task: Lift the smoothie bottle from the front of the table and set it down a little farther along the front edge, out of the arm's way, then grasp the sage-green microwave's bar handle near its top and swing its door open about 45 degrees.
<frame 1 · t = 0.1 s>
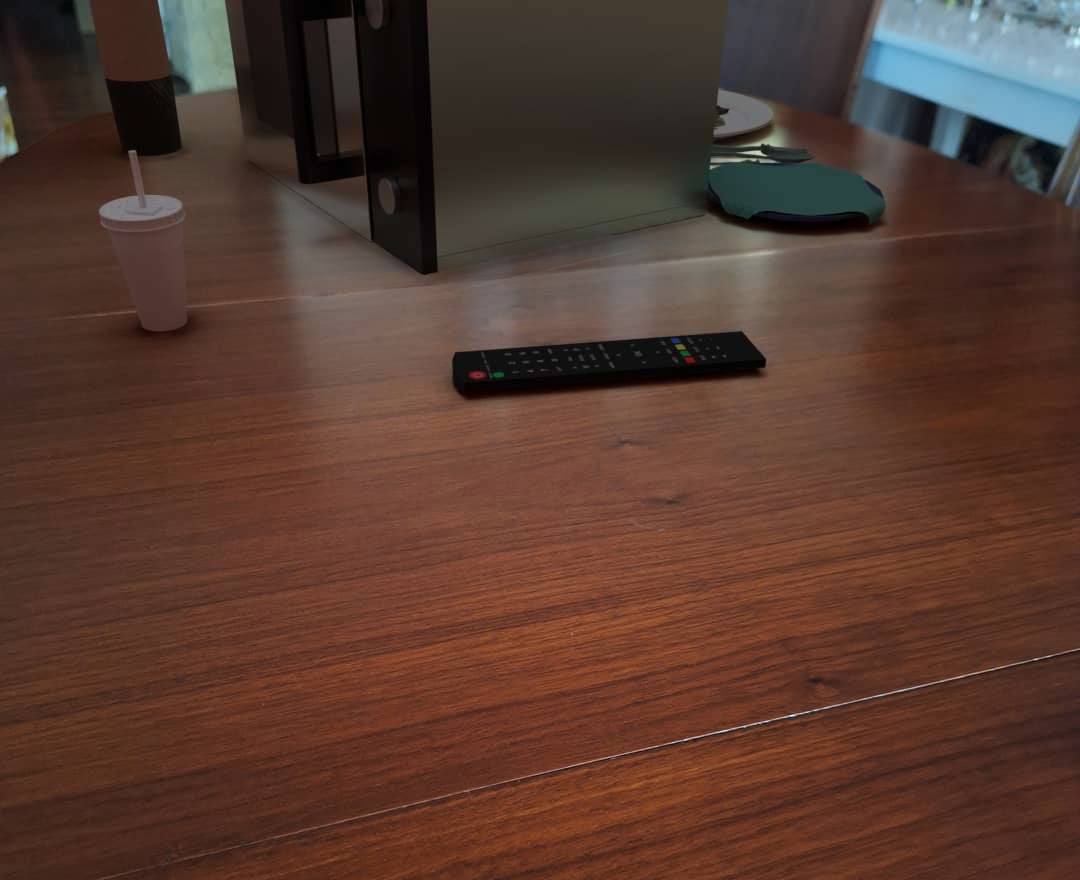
microwave: (470, 185, 119), on the table
travel mug: (152, 150, 129), on the table
microwave door: (269, 63, 105), point 14 cm above the table, hinge at 0.0°
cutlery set: (778, 193, 120), on the table
remote control: (606, 374, 81), on the table
smoothie: (165, 324, 87), on the table
plated food: (663, 123, 145), on the table
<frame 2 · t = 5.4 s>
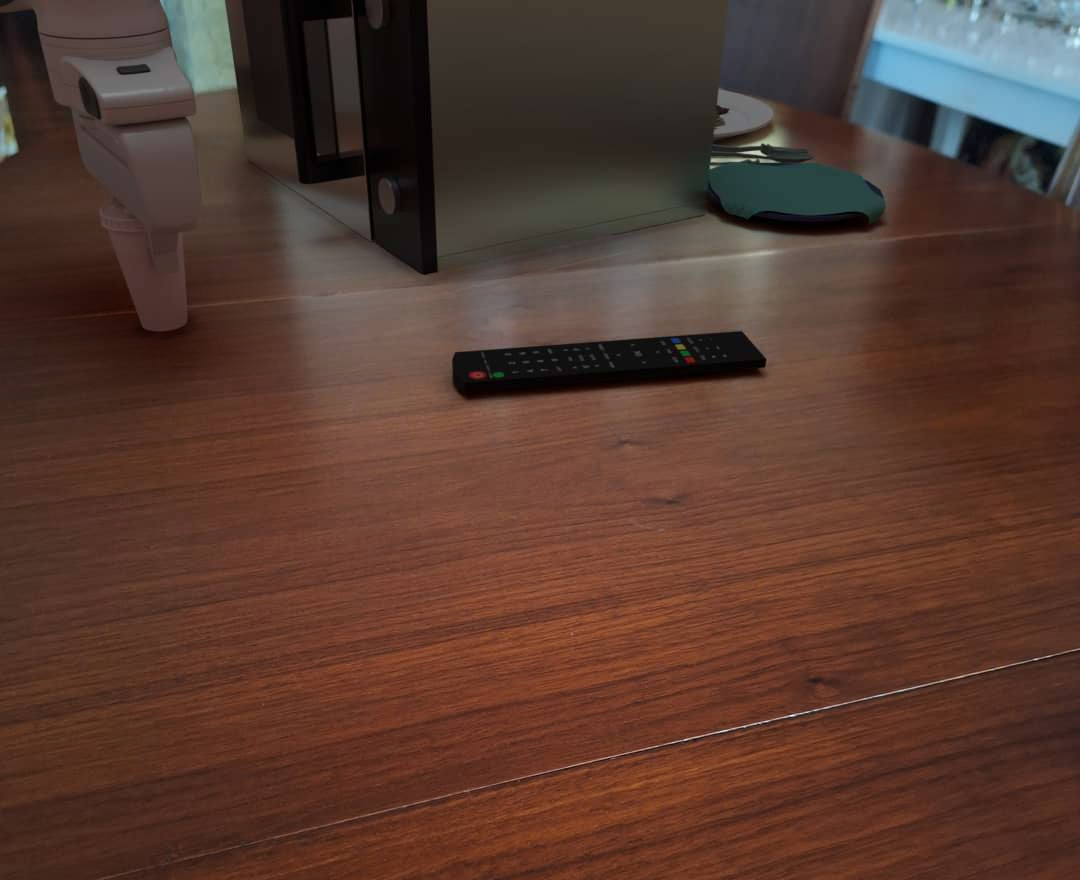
hand: (151, 256, 84), 6 cm above the table, tool pointing down, fingers closed on smoothie, 6 cm apart
smoothie: (165, 324, 87), on the table, touching gripper
everything else where it was.
when the fingers open (6 cm above the table, at t = 12.7 s): smoothie stays where it is, on the table.
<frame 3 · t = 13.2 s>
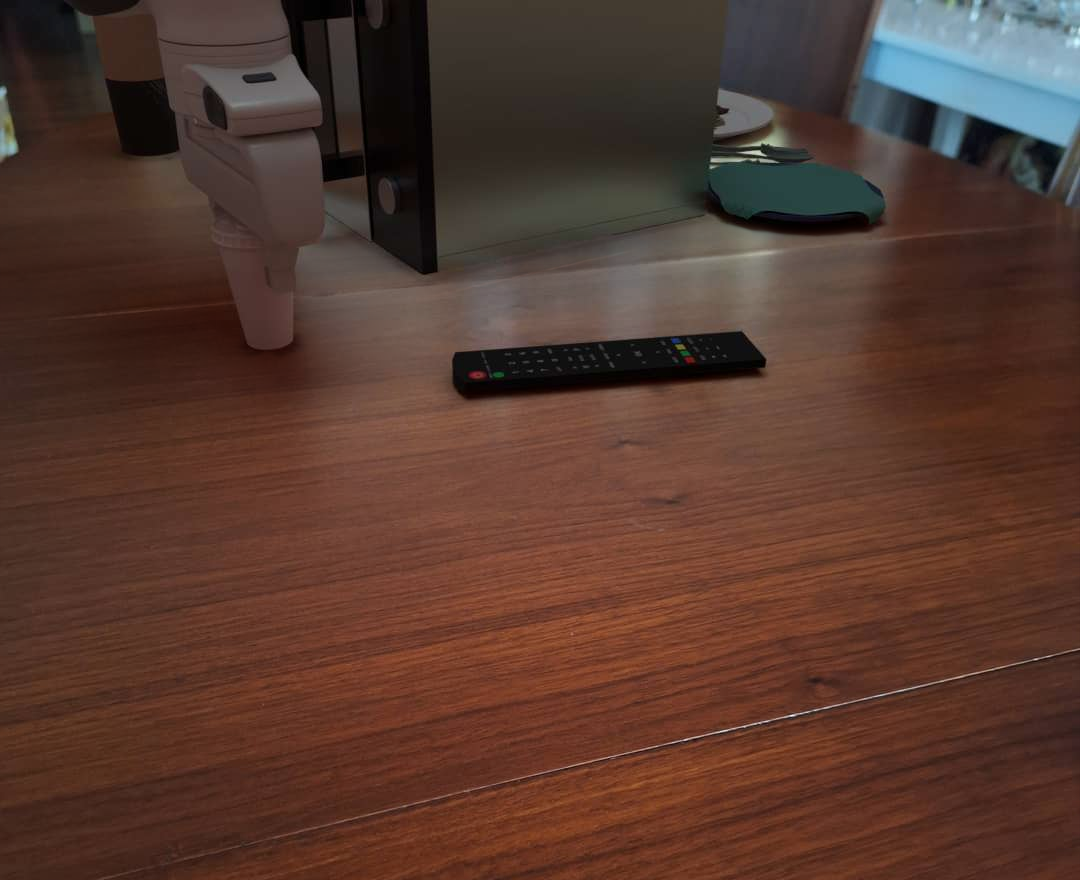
hand: (258, 270, 81), 6 cm above the table, tool pointing down, fingers open, 8 cm apart
smoothie: (270, 342, 84), on the table
everything else where it was.
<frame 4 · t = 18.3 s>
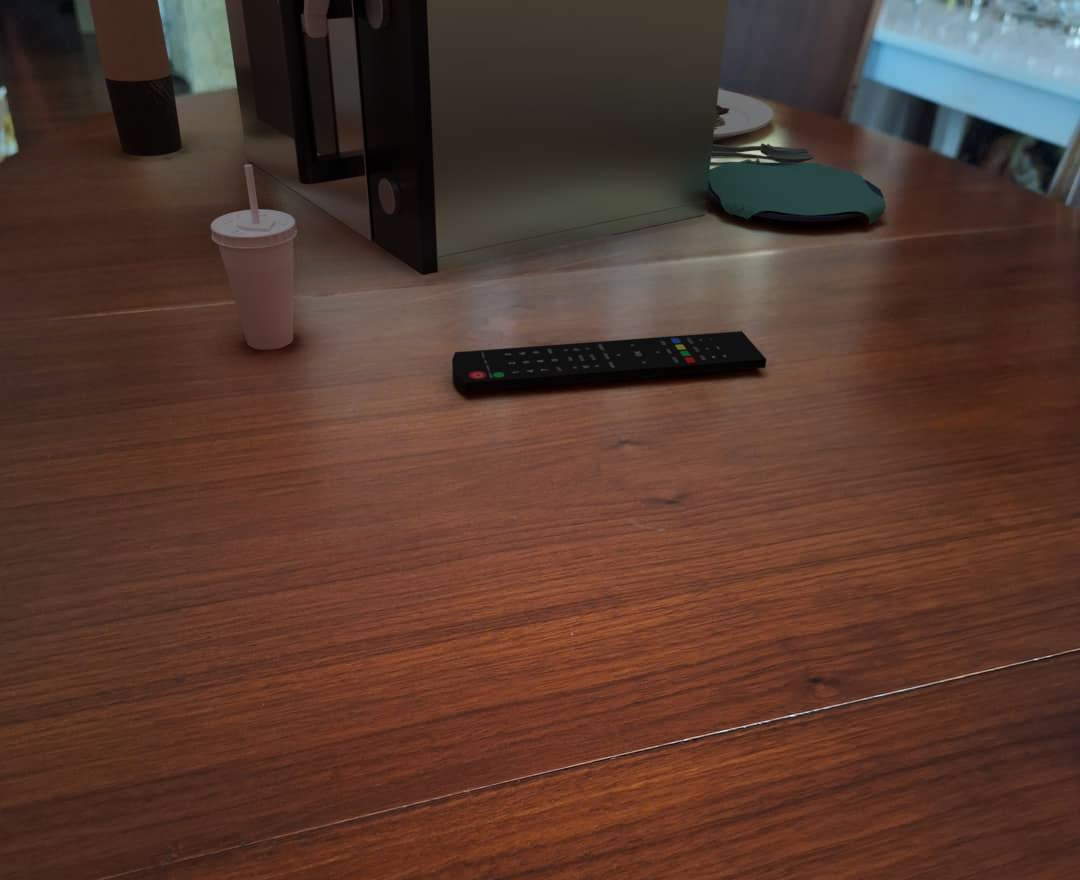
hand: (304, 32, 92), 19 cm above the table, tool pointing down, fingers open, 3 cm apart
microwave door: (269, 63, 105), point 14 cm above the table, hinge at 0.0°, touching gripper
everything else where it was.
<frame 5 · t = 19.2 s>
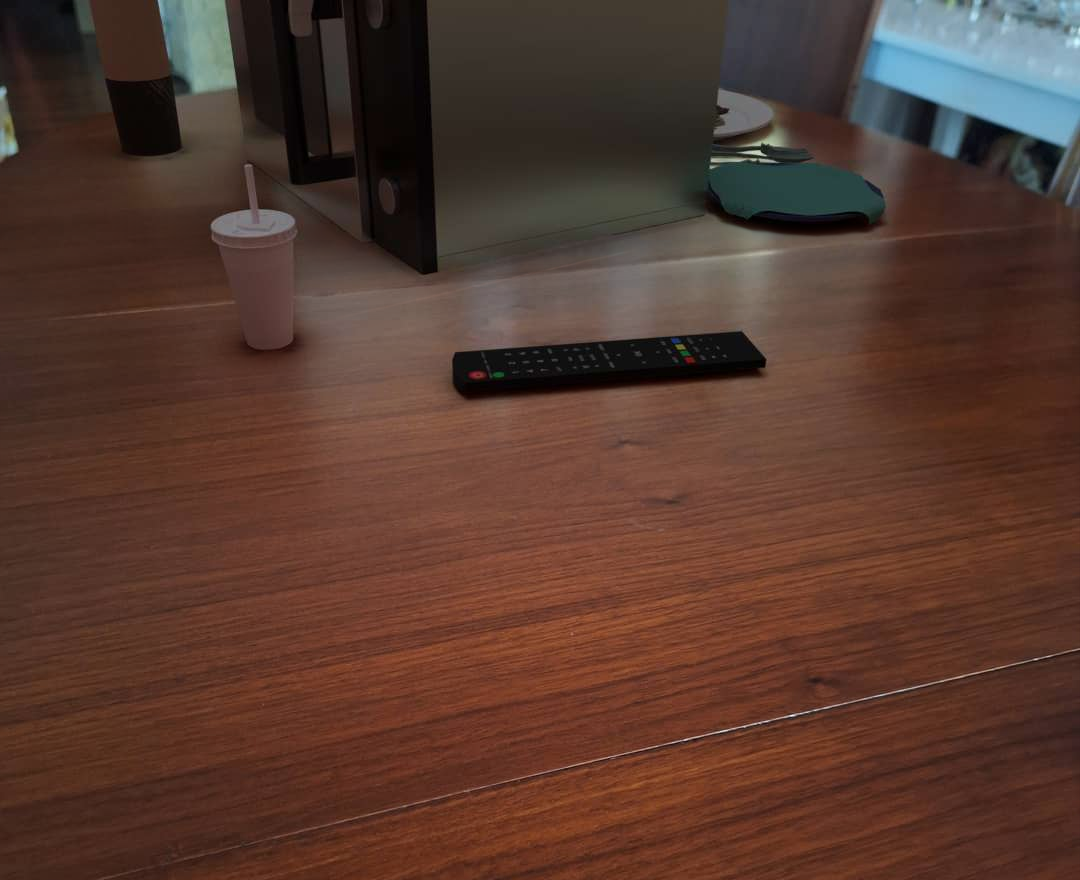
hand: (292, 31, 92), 19 cm above the table, tool pointing down, fingers closed on microwave door, 2 cm apart
microwave door: (264, 63, 105), point 14 cm above the table, hinge at 1.6°, touching gripper
everything else where it was.
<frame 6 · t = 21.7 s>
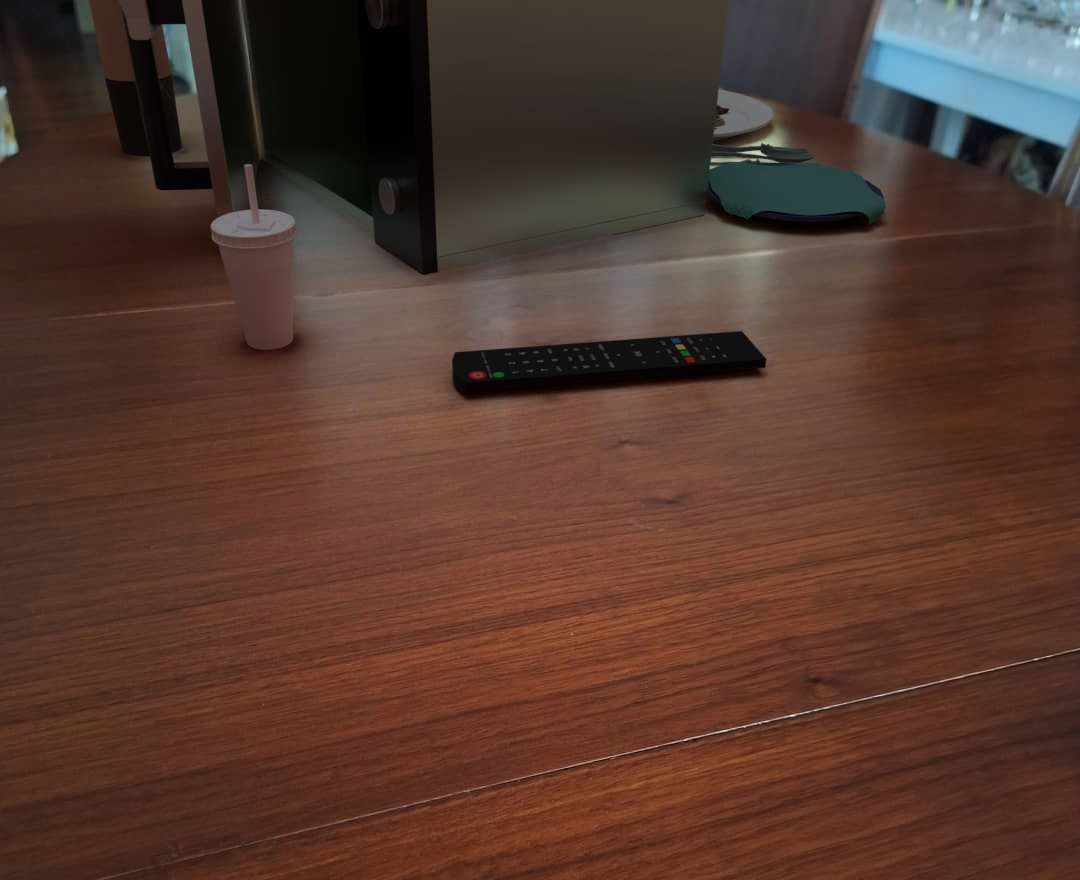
hand: (146, 35, 90), 19 cm above the table, tool pointing down, fingers closed on microwave door, 2 cm apart
microwave door: (195, 64, 104), point 14 cm above the table, hinge at 24.4°, touching gripper
everything else where it was.
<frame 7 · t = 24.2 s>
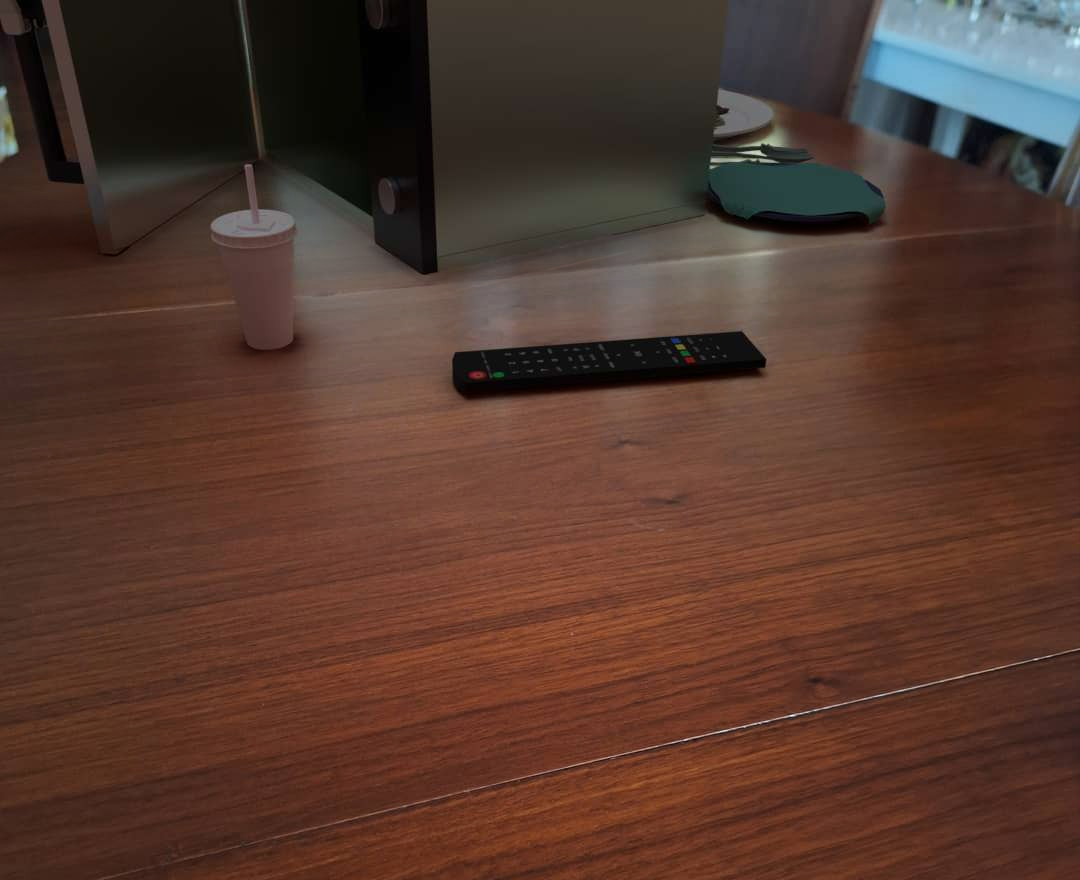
hand: (30, 30, 91), 19 cm above the table, tool pointing down, fingers closed on microwave door, 2 cm apart
microwave door: (139, 61, 105), point 14 cm above the table, hinge at 44.8°, touching gripper
everything else where it was.
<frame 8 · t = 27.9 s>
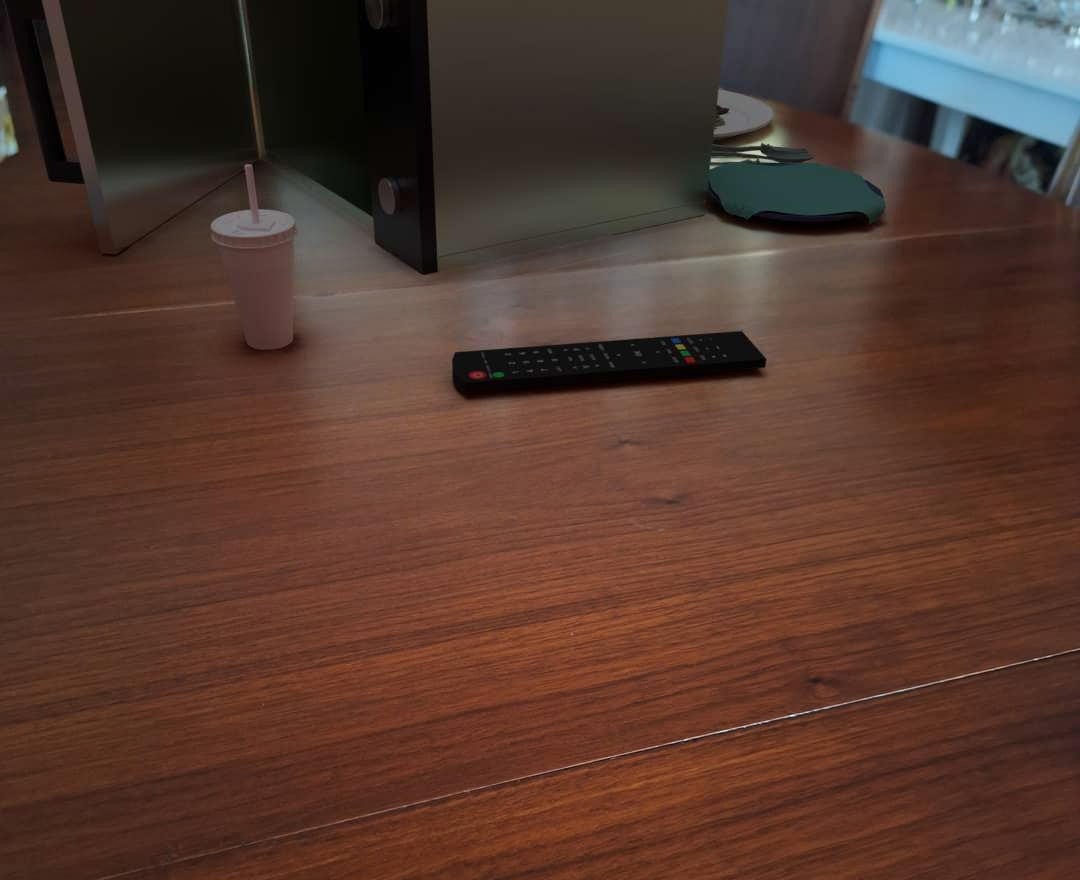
microwave door: (140, 61, 105), point 14 cm above the table, hinge at 44.8°
everything else where it was.
at the end: microwave door at +45° (first picture: +0°); smoothie inside the target area (0.1 cm from its centre), on the table; smoothie tilted 0° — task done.
